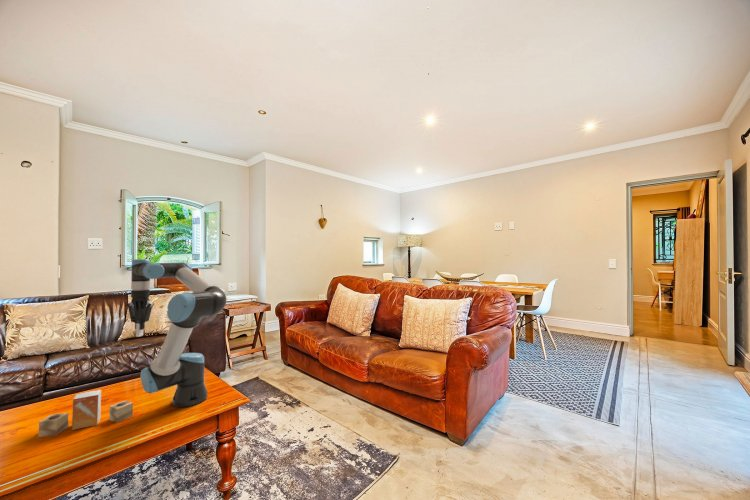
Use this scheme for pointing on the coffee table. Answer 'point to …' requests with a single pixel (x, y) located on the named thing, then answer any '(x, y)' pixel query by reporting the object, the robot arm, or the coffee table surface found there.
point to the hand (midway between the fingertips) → (139, 335)
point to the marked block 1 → (53, 424)
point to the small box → (86, 409)
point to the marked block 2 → (121, 411)
